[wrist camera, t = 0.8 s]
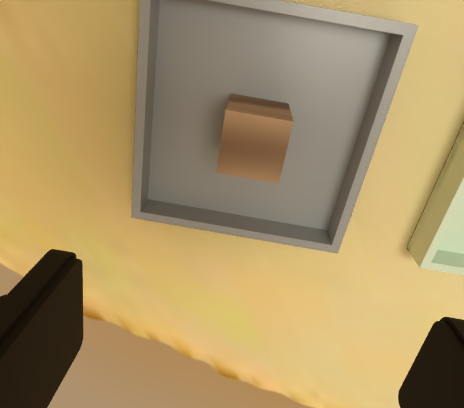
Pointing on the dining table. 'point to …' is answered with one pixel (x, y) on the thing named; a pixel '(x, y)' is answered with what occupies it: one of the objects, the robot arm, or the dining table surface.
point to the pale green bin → (443, 219)
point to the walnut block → (254, 138)
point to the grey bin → (264, 87)
